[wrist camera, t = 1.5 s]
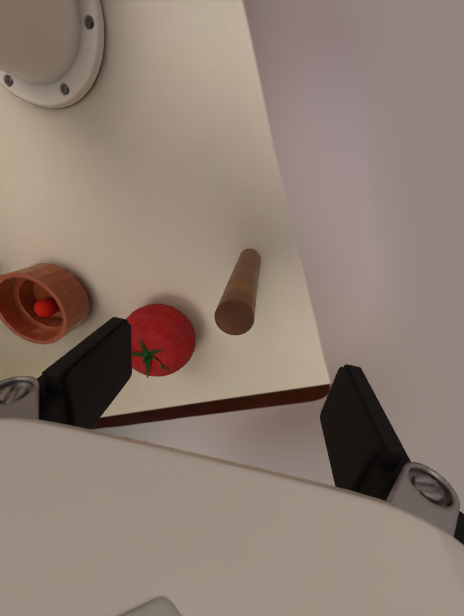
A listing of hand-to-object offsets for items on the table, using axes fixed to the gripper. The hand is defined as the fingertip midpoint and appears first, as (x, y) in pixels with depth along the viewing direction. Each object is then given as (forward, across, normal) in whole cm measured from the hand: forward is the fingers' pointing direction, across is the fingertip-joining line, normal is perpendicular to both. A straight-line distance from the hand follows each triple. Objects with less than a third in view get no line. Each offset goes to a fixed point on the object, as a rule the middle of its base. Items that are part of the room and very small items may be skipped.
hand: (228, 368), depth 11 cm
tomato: (+20, +9, +10) cm, 24 cm away
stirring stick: (+20, 0, 0) cm, 20 cm away
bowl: (+19, +24, +9) cm, 32 cm away
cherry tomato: (+17, +25, +10) cm, 32 cm away
